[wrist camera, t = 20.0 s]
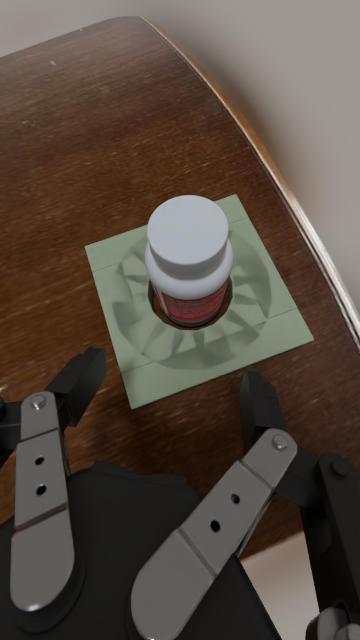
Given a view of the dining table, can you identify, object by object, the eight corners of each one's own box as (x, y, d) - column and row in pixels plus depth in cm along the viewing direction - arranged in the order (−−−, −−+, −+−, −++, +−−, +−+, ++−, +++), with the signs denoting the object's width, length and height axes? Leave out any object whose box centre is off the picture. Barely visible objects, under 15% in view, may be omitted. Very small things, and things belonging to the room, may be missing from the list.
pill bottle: (234, 299, 24) (266, 227, 14) (189, 341, 23) (185, 299, 13) (191, 259, 26) (189, 166, 15) (147, 297, 25) (112, 227, 14)
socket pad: (302, 345, 22) (314, 339, 20) (138, 407, 22) (131, 409, 19) (232, 211, 27) (236, 193, 25) (94, 259, 26) (84, 246, 24)
